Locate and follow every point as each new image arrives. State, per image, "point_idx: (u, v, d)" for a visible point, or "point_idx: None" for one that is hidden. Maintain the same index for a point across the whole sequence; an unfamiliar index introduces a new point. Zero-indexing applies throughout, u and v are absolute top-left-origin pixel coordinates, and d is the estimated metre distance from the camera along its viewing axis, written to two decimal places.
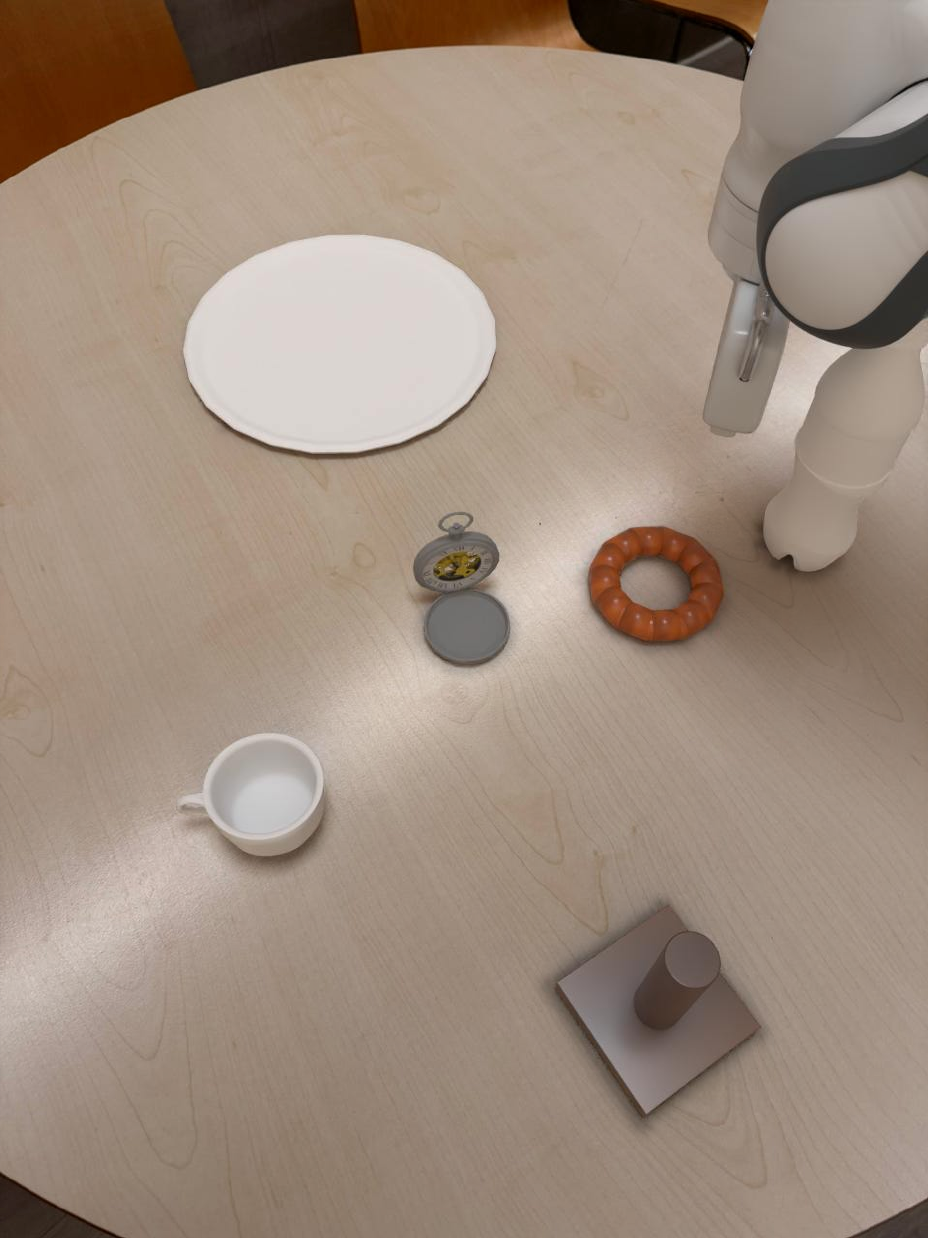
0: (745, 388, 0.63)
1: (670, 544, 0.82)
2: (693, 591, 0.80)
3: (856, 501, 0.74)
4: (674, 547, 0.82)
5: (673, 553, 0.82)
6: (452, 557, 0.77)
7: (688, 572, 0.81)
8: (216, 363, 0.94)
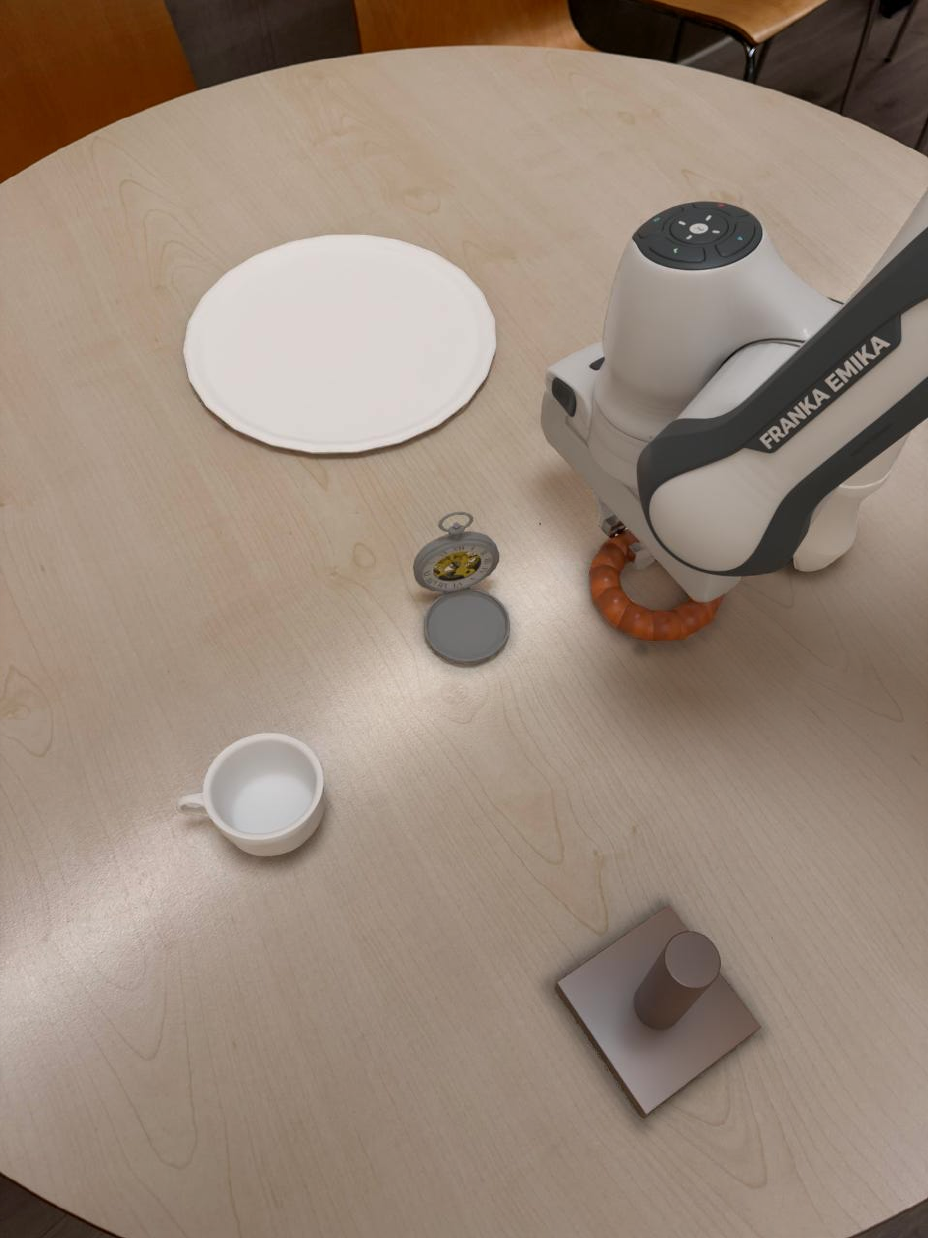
0: None
1: None
2: None
3: (856, 501, 0.74)
4: None
5: None
6: (452, 557, 0.77)
7: None
8: (216, 363, 0.94)
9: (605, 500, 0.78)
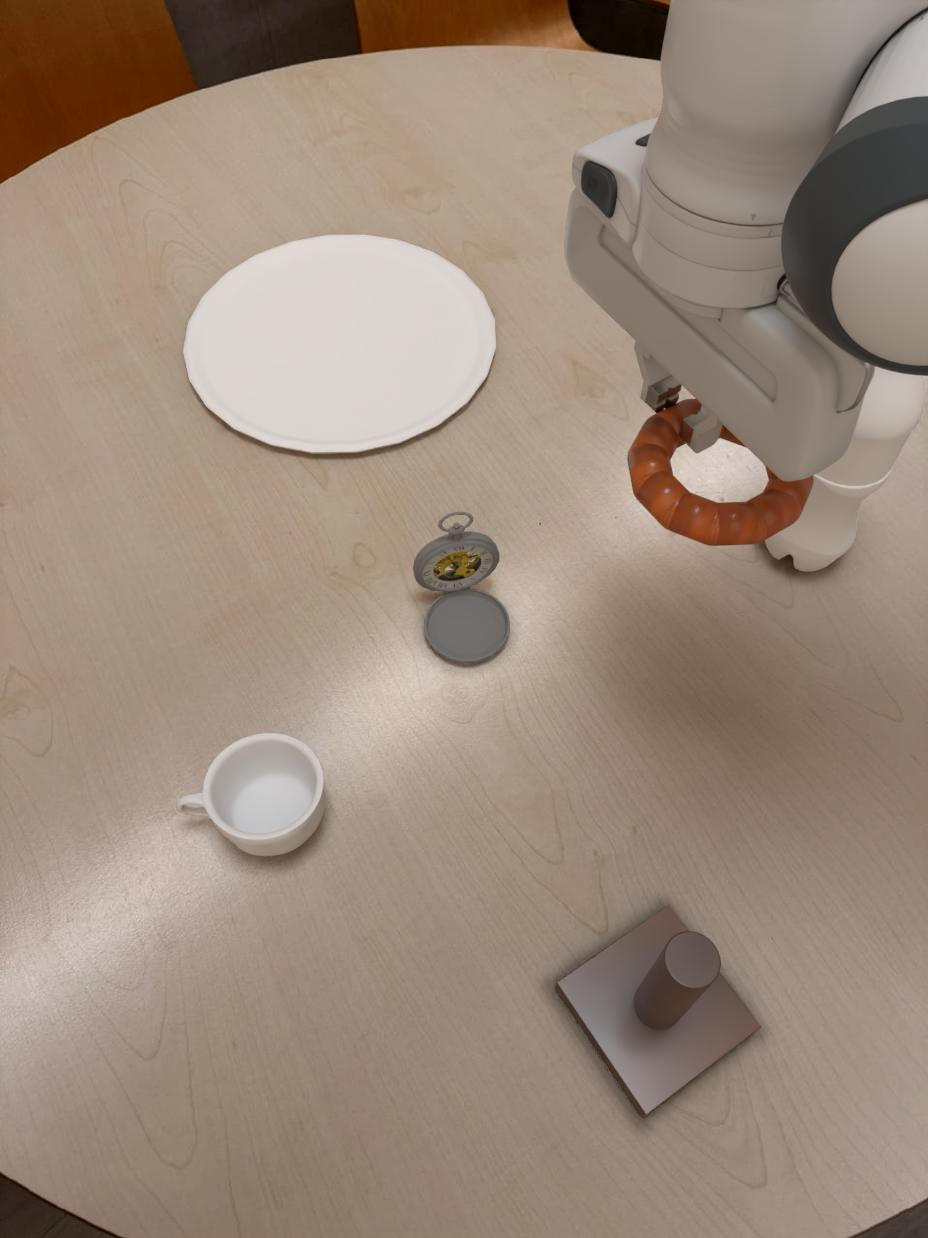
0: (842, 417, 0.49)
1: None
2: (772, 479, 0.58)
3: (856, 501, 0.74)
4: None
5: None
6: (452, 557, 0.77)
7: None
8: (216, 363, 0.94)
9: (653, 350, 0.56)
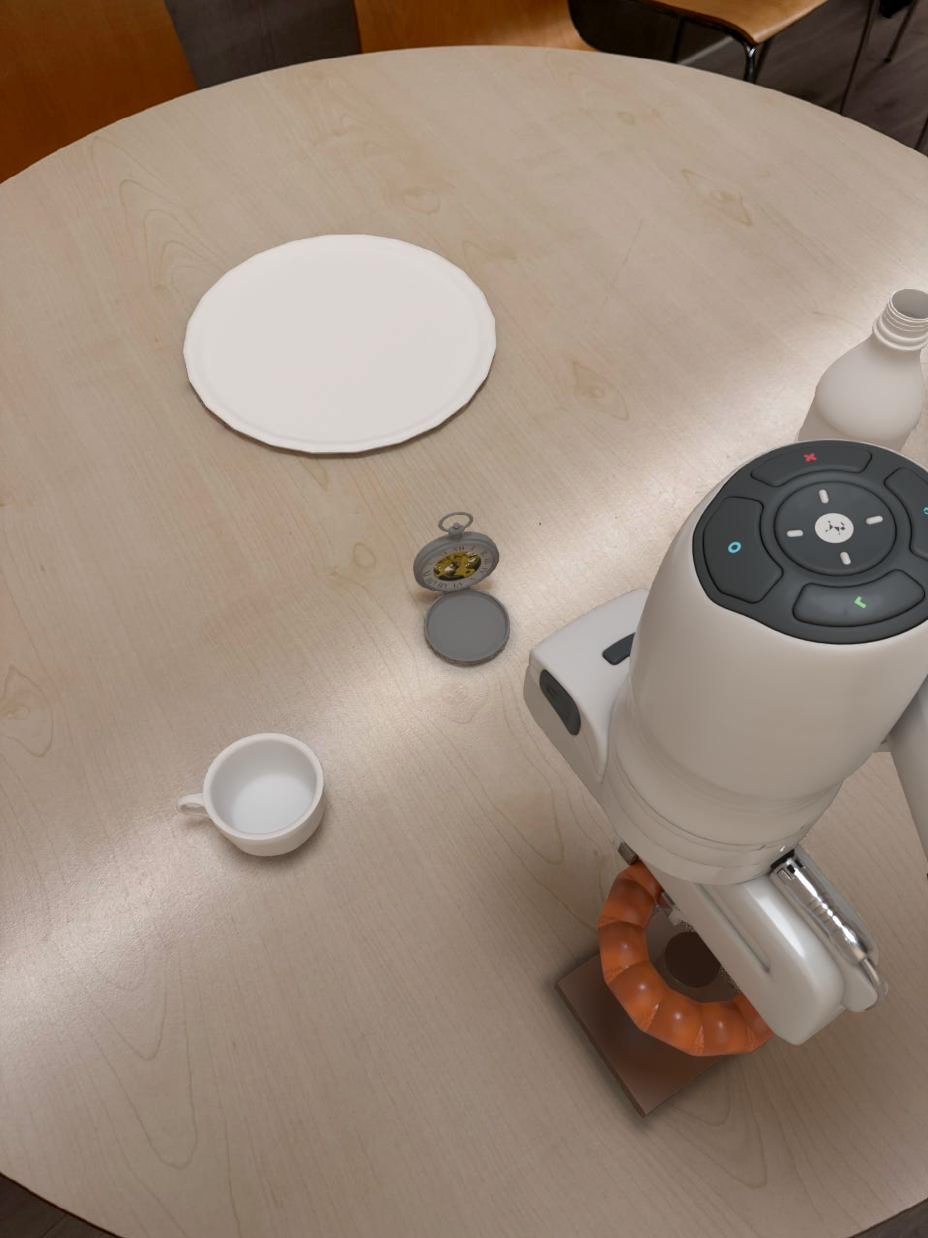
0: None
1: None
2: None
3: None
4: None
5: None
6: (452, 557, 0.77)
7: None
8: (216, 363, 0.94)
9: None
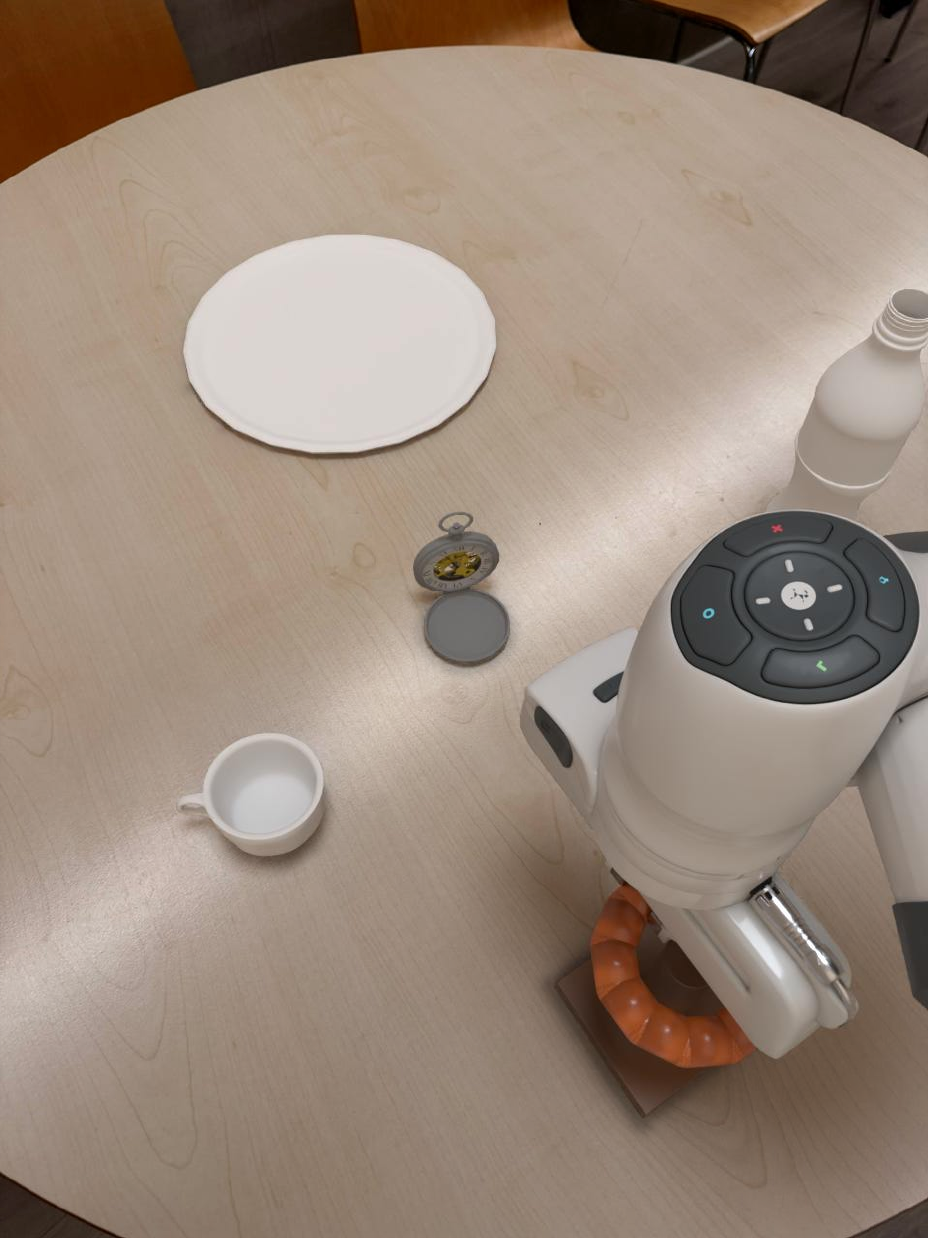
0: None
1: None
2: None
3: (856, 501, 0.74)
4: None
5: None
6: (452, 557, 0.77)
7: None
8: (216, 363, 0.94)
9: None
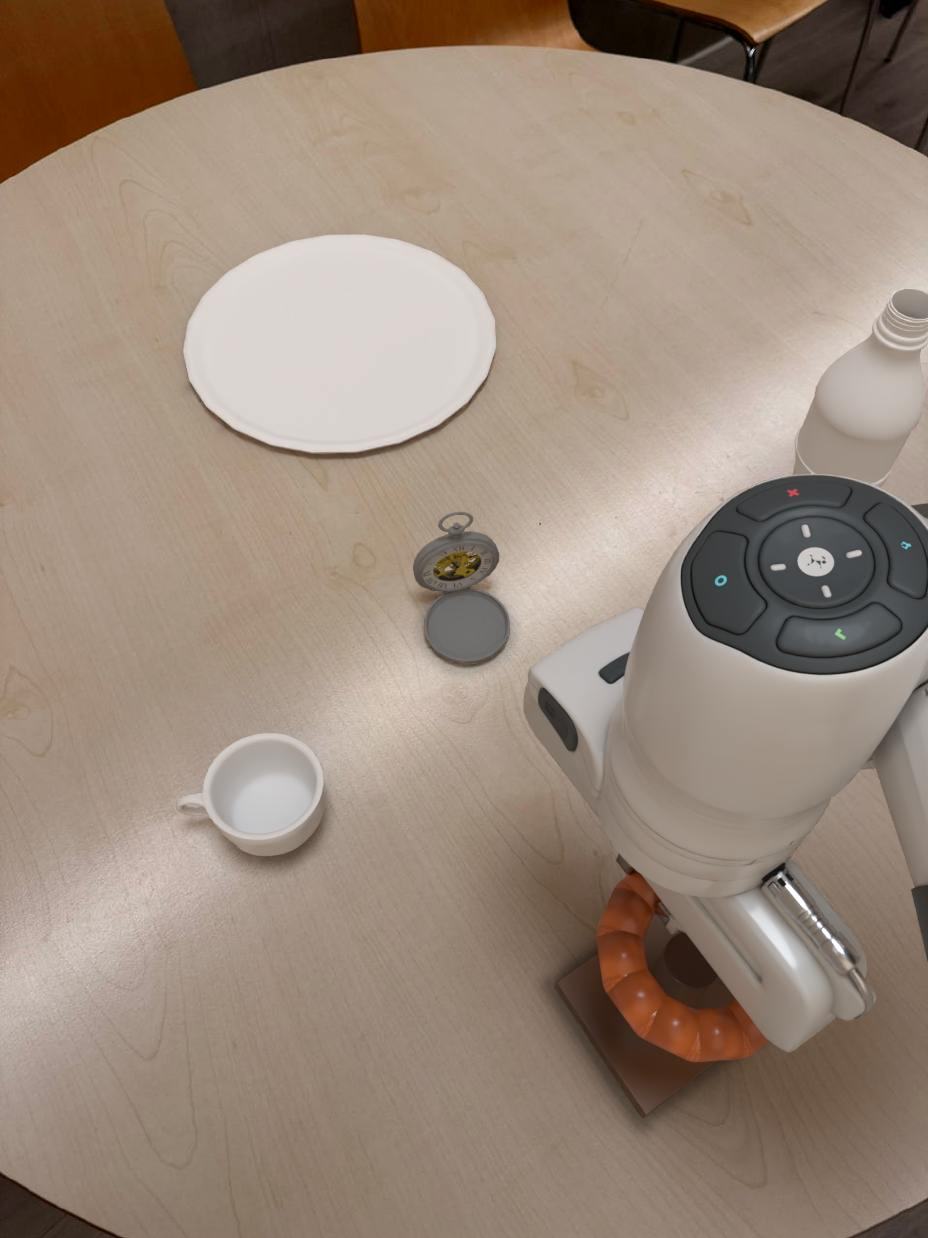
0: None
1: None
2: None
3: None
4: None
5: None
6: (452, 557, 0.77)
7: None
8: (216, 363, 0.94)
9: None
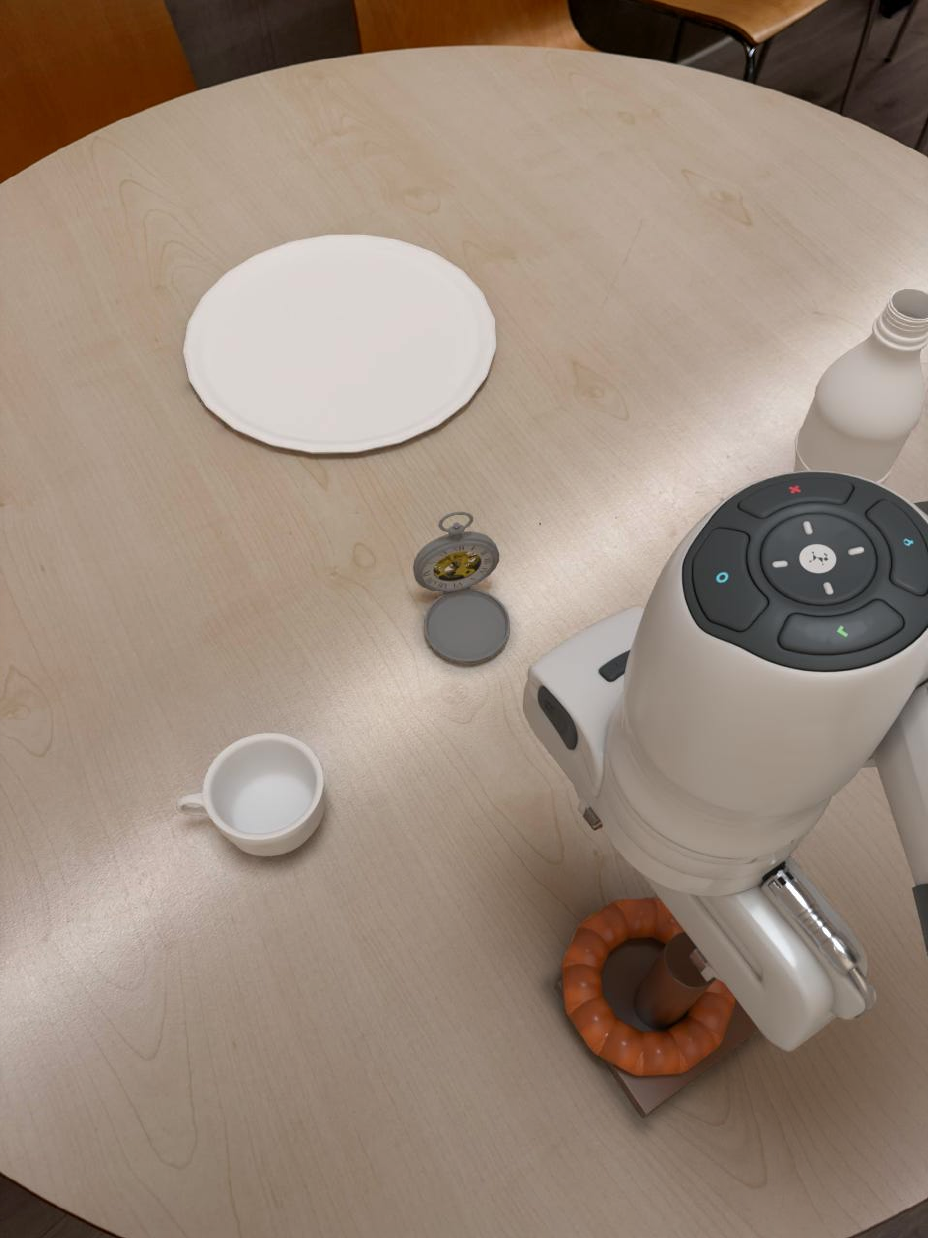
0: None
1: (666, 930, 0.64)
2: (695, 1003, 0.62)
3: None
4: (671, 934, 0.64)
5: None
6: (452, 557, 0.77)
7: None
8: (216, 363, 0.94)
9: None
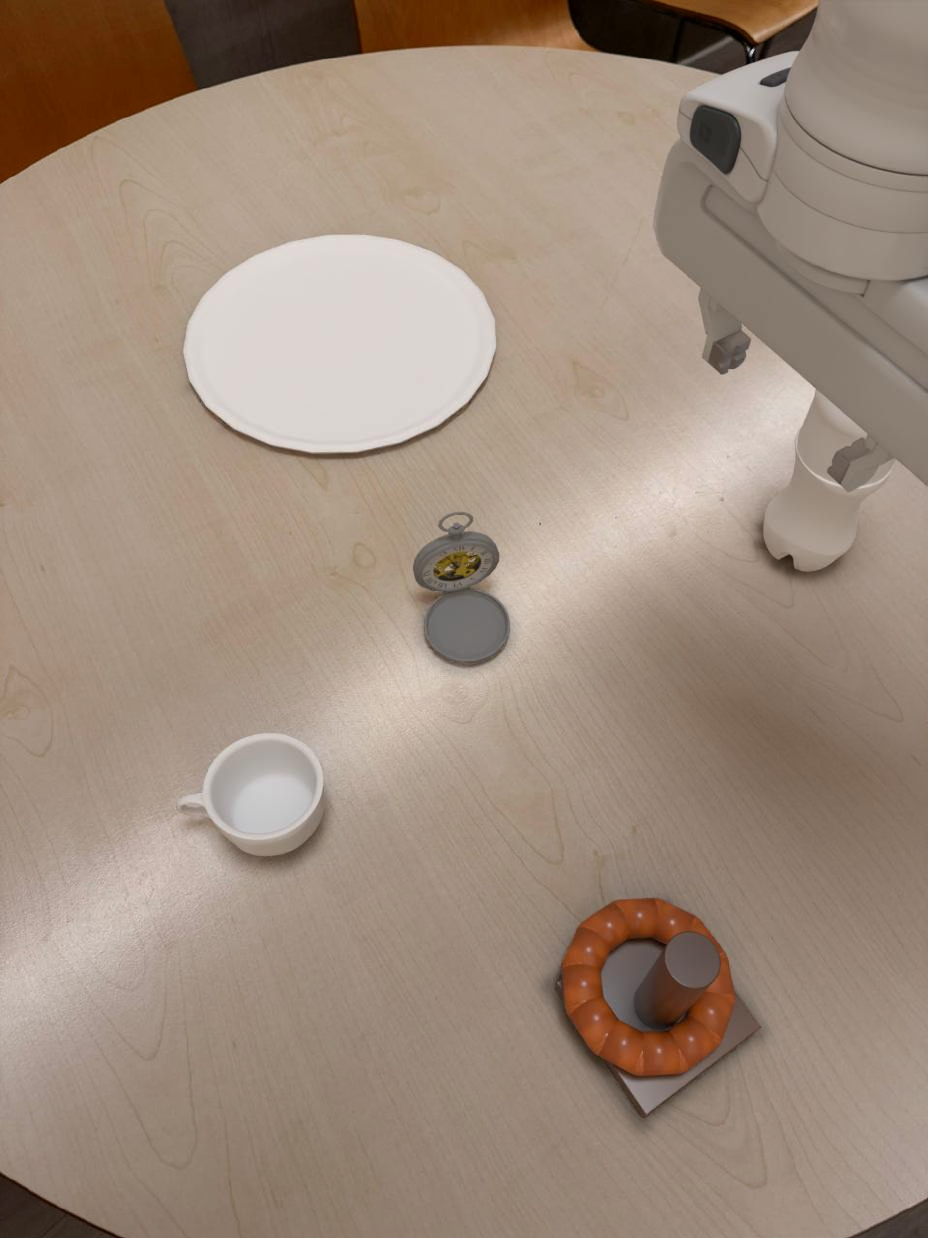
0: None
1: (666, 930, 0.64)
2: (695, 1003, 0.62)
3: (856, 501, 0.74)
4: (671, 934, 0.64)
5: None
6: (452, 557, 0.77)
7: None
8: (216, 363, 0.94)
9: (765, 334, 0.48)
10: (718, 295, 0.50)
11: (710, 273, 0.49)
